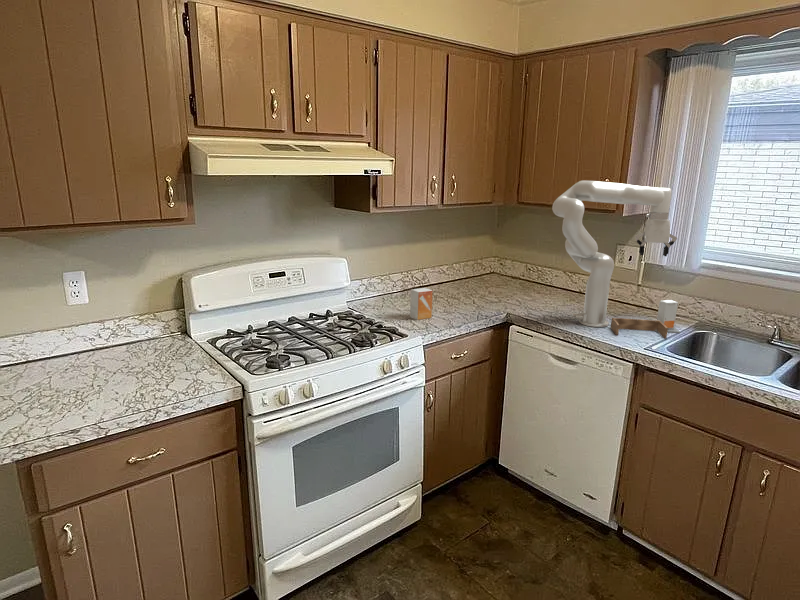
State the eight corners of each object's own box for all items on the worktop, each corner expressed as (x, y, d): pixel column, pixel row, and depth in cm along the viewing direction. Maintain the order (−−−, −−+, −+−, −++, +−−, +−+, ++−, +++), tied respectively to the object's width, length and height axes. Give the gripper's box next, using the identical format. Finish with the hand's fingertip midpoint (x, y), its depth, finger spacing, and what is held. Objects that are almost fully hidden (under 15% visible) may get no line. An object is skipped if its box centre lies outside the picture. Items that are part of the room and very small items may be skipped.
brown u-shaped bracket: (616, 335, 217) (617, 324, 216) (610, 327, 227) (611, 317, 226) (666, 338, 214) (668, 327, 213) (658, 330, 224) (659, 320, 223)
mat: (655, 331, 223) (655, 330, 223) (648, 325, 232) (648, 323, 232) (680, 333, 221) (680, 331, 221) (672, 326, 231) (672, 325, 231)
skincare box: (662, 329, 224) (666, 302, 221) (655, 326, 228) (659, 300, 225) (674, 328, 225) (678, 302, 222) (667, 326, 229) (671, 299, 226)
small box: (417, 320, 233) (418, 292, 230) (409, 317, 239) (410, 289, 235) (432, 317, 238) (433, 290, 235) (423, 314, 243) (424, 287, 240)
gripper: (639, 216, 225) (634, 255, 229) (682, 218, 222) (676, 257, 227) (635, 215, 233) (630, 253, 237) (676, 216, 230) (671, 255, 234)
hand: (653, 255), depth 232 cm, fingers open, 9 cm apart
